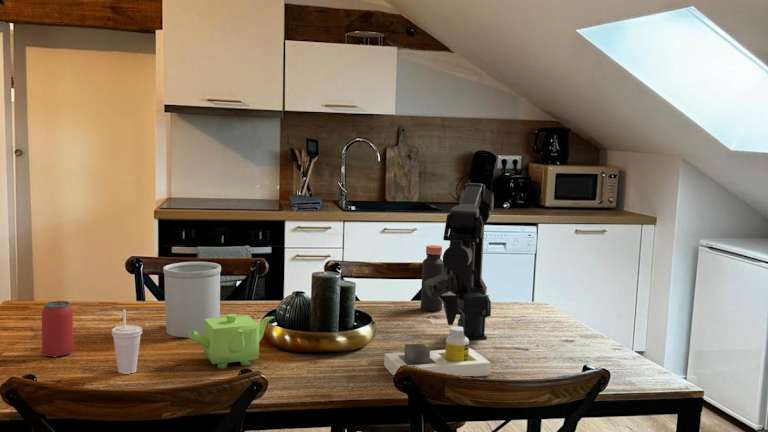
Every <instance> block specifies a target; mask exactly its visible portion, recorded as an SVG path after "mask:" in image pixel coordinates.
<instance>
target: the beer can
mask: <svg viewBox="0 0 768 432" xmlns="http://www.w3.org/2000/svg"><path fill="white" fill-rule="evenodd" d="M73 316H74V315H73V308H72V307H71V303H70V302H69V301H64V300H55V301H49V302H46V303H44V304H43V308H42V310H41V353H42V355H43V356H45V355H46V356H45V357H47V356H62V357H65V356H64V355H66V356H68V355H67V354H69V355H70V354H72V353H73V351H74V333H73V332H74V326H73V325H74V322H73V320H74V319H73ZM71 352H72V353H71Z"/></svg>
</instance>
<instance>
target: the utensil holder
mask: <svg viewBox="0 0 768 432" xmlns="http://www.w3.org/2000/svg"><path fill="white" fill-rule="evenodd" d="M162 268H163V269H162V270H163V271H162V272H163V274H164V309H165V311H164V312H165V328H166V333H167V335H170V336H172V337H177V338H189V335H190V333H191V332H192V331H196V332H197V333H199V334H201V335H202V336H204V319H209V318H220V317H221V271H222V266H221V264H219V263H216V262H210V261H209V262H208V261H184V262H182V261H181V262H176V263H170V264H167V265H164V266H163V267H162Z"/></svg>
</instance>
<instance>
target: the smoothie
mask: <svg viewBox="0 0 768 432" xmlns="http://www.w3.org/2000/svg"><path fill="white" fill-rule="evenodd" d="M126 313H127V311H126V308H125V309H122V325H119V326H116V327H114V328H112V329H111V336H112V338H113V343H114V344H113V345H114V352H115V357H116V358H115V359H116V365H117V366H116V367H117V372H119V373H123V374H129V375H131V374H130V373H133V374H135V373H136V372H137V369H138V368H137V366H138V360H139V359H138V357H139V352H140V343H141V342H140V341H141V337H142V336H141V335H142V334H143V327H141V326H140V325H133V324H129V325H127V322H126V321H127V320H126V319H127V318H126V317H127V316H126ZM134 372H135V373H134ZM119 373H118V374H119Z"/></svg>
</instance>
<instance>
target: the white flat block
mask: <svg viewBox="0 0 768 432" xmlns="http://www.w3.org/2000/svg"><path fill="white" fill-rule="evenodd" d="M445 350H446V349H437V350H434V349H433V350H430V363H429V364H419V365H408V366H415V367H418V368H421V369H425V370H430V371H435V372H441V373H446V374H454V375H462V376H474V377H485V376H490V375H491V365H492V363H491V361H489V360H488V359H487V358H485V357H484V356H482V355H481V354H480V353H479V352H477V351H475V350H474V349H472V348H470V347H469V353H468V361H463V362H448V361H447V360H445ZM404 355H405V351H404V352H388V353H386V352H385V353H384V362H383V365H384V367H385V368H386V370H388V372H389V374H391V375H392V376H393V375H394V374H395V373H396V371H397V370H398V368H399V367H400V366H403V365H407V364H406V363H405V362H404Z"/></svg>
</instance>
